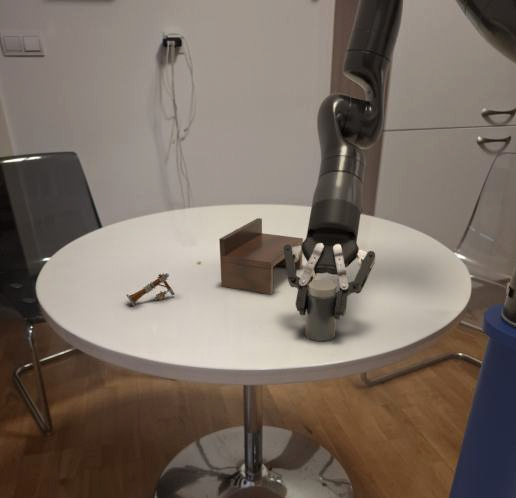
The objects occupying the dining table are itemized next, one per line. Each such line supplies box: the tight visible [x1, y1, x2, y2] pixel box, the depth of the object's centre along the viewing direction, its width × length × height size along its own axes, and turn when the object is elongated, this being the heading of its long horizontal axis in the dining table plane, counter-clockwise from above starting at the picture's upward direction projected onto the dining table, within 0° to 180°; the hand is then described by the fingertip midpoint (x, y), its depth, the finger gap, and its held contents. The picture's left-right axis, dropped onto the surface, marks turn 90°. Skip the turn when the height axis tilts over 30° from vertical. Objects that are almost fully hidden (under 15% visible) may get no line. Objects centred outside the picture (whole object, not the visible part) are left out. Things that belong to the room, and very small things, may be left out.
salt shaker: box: [304, 279, 338, 342], centre depth 72 cm, size 4×4×8 cm
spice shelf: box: [218, 217, 304, 296], centre depth 94 cm, size 10×16×9 cm, turn 155°
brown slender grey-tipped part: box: [125, 272, 175, 307], centre depth 85 cm, size 2×8×4 cm, turn 117°
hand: (319, 314), depth 70 cm, fingers closed on salt shaker, 4 cm apart
